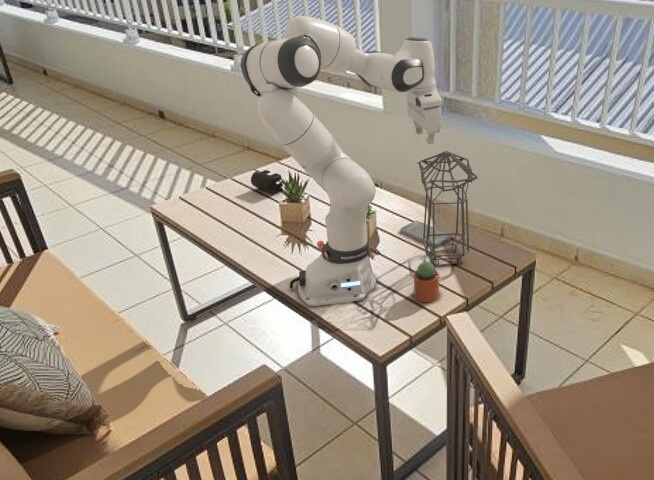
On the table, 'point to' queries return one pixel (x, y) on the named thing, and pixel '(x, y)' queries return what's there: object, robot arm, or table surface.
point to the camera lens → (267, 181)
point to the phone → (417, 231)
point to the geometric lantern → (469, 179)
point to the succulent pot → (426, 283)
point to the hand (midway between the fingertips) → (424, 138)
